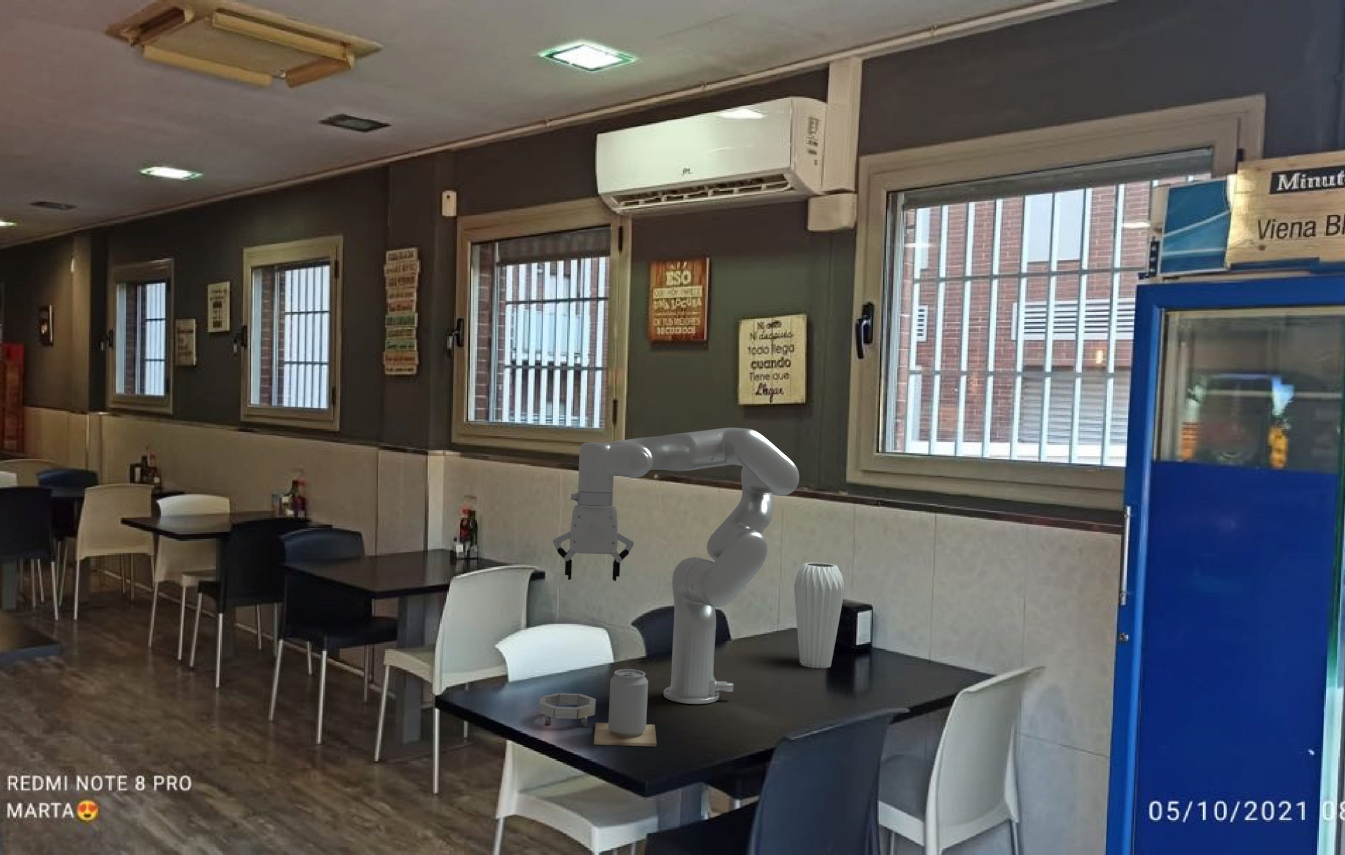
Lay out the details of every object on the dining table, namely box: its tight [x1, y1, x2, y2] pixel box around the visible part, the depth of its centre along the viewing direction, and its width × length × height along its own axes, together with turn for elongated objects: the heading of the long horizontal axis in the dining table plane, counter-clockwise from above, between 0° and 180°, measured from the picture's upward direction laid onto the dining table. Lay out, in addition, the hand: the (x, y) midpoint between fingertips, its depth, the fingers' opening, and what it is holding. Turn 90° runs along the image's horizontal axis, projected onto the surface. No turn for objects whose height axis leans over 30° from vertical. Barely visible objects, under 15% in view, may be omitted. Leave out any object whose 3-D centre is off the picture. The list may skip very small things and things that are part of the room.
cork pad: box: [593, 722, 657, 747], centre depth 207 cm, size 12×12×1 cm
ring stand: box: [538, 692, 597, 728], centre depth 216 cm, size 11×11×4 cm
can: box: [607, 668, 649, 737], centre depth 207 cm, size 8×8×12 cm
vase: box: [793, 562, 845, 669], centre depth 275 cm, size 13×13×26 cm
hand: (591, 579), depth 225 cm, fingers open, 9 cm apart
